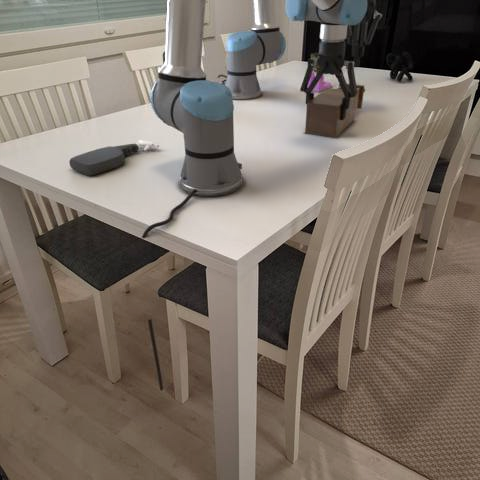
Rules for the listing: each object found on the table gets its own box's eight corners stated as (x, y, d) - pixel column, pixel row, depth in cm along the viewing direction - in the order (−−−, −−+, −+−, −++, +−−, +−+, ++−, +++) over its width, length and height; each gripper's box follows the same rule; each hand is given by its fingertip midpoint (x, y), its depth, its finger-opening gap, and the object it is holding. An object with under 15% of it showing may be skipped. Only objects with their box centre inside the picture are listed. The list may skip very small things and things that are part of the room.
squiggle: (400, 92, 202) (376, 71, 205) (417, 76, 202) (392, 56, 205) (405, 81, 191) (380, 59, 194) (423, 64, 191) (397, 42, 194)
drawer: (342, 100, 167) (345, 79, 163) (366, 103, 164) (369, 81, 159) (321, 118, 150) (323, 95, 146) (346, 122, 146) (349, 98, 142)
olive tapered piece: (307, 71, 218) (308, 54, 214) (312, 68, 224) (313, 51, 220) (322, 73, 215) (323, 55, 211) (326, 70, 221) (328, 52, 217)
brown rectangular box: (325, 116, 155) (327, 87, 150) (353, 120, 151) (357, 90, 146) (305, 133, 141) (306, 102, 136) (335, 137, 137) (338, 106, 132)
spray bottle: (67, 168, 120) (139, 144, 136) (91, 178, 114) (163, 151, 130) (65, 157, 118) (137, 134, 134) (89, 167, 112) (162, 142, 128)
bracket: (318, 92, 184) (319, 74, 181) (306, 90, 187) (307, 72, 184) (333, 85, 193) (334, 68, 189) (321, 84, 196) (322, 67, 192)
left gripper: (375, 40, 126) (365, 118, 138) (301, 36, 136) (297, 109, 147) (368, 44, 121) (358, 125, 133) (291, 39, 130) (288, 115, 142)
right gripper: (388, -12, 143) (377, 66, 156) (348, -12, 149) (341, 63, 161) (382, -10, 138) (371, 70, 150) (341, -11, 143) (334, 67, 156)
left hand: (326, 116), depth 140 cm, fingers closed on brown rectangular box, 10 cm apart
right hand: (356, 66), depth 156 cm, fingers closed
